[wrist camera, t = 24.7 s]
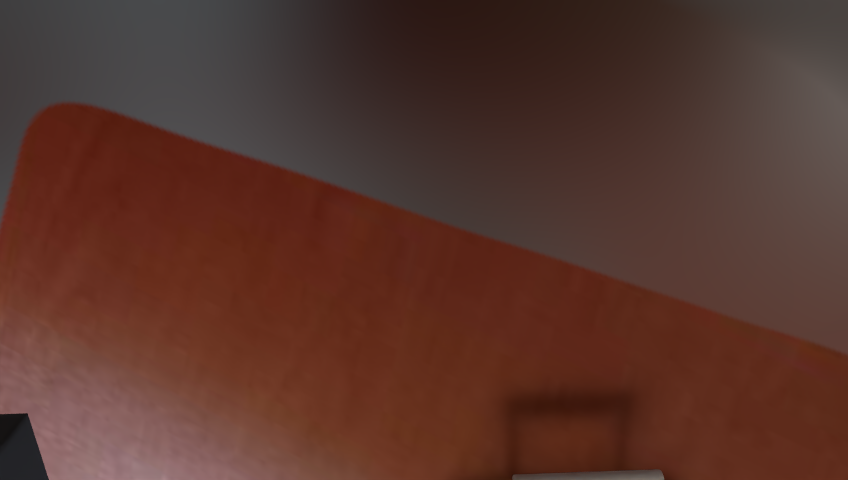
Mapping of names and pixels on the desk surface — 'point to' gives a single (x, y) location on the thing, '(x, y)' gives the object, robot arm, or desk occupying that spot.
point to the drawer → (595, 475)
